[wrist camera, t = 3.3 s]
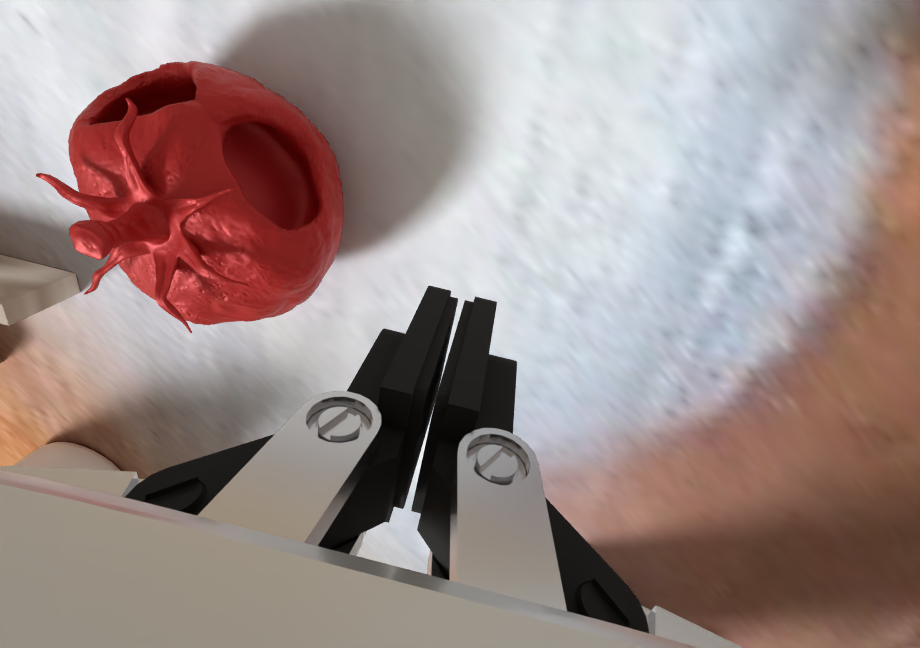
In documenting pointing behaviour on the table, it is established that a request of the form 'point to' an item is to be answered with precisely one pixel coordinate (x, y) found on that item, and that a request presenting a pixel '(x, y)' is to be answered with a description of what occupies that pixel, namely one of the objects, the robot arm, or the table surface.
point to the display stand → (31, 288)
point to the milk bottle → (66, 458)
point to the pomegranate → (205, 193)
